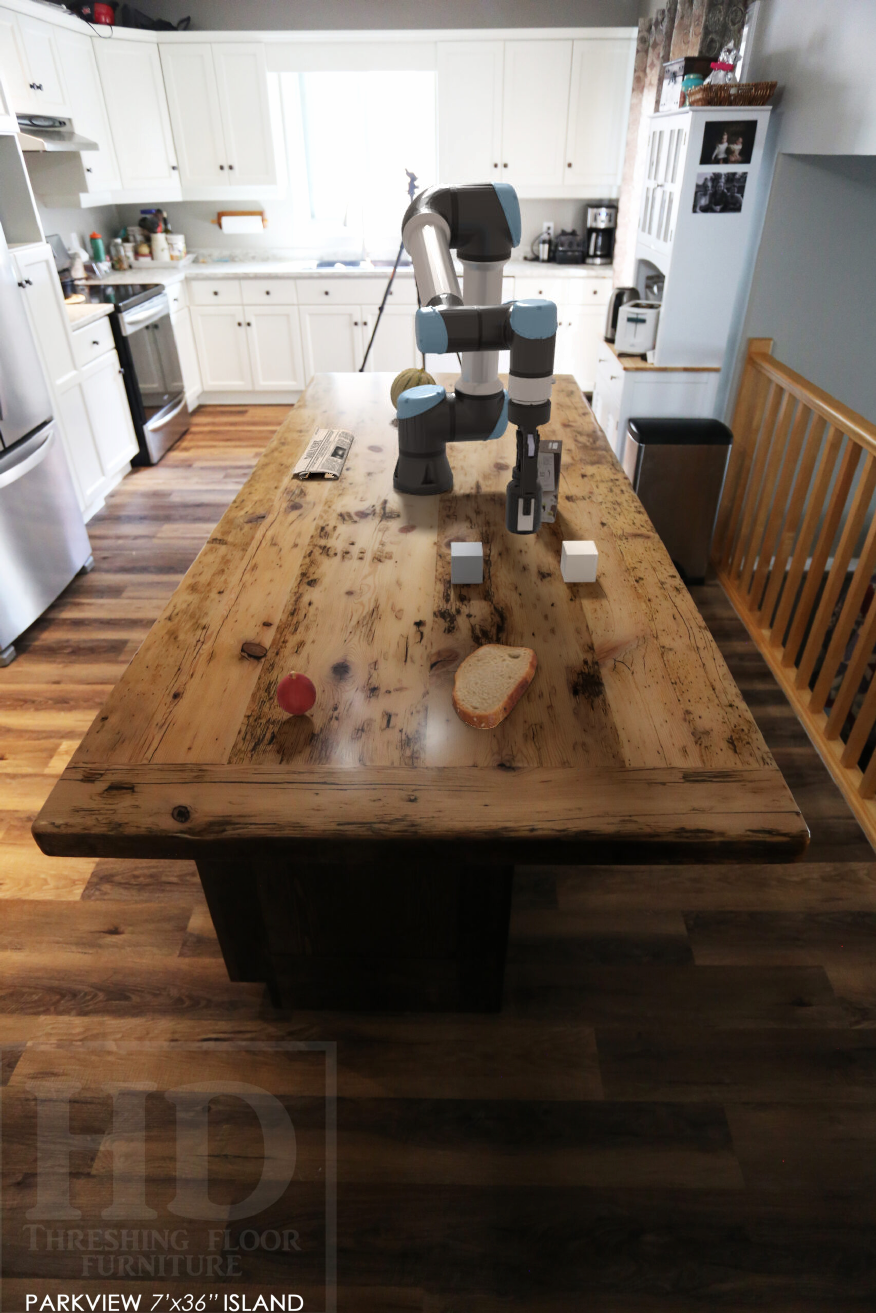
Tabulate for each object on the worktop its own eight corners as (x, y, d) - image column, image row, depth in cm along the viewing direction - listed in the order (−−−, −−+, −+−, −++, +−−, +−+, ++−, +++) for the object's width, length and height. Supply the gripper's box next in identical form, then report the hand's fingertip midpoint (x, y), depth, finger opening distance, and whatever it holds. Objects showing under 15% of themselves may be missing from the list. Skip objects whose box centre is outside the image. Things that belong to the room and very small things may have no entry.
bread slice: (473, 737, 110) (473, 716, 108) (422, 673, 124) (421, 653, 121) (577, 703, 116) (579, 683, 114) (518, 646, 130) (519, 627, 128)
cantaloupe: (384, 414, 242) (382, 365, 234) (426, 408, 247) (425, 359, 239) (402, 426, 231) (400, 375, 223) (446, 420, 236) (445, 370, 228)
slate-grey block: (451, 584, 148) (451, 556, 145) (451, 569, 153) (451, 542, 150) (482, 583, 148) (483, 555, 144) (481, 569, 153) (481, 542, 149)
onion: (281, 703, 117) (274, 660, 112) (319, 701, 117) (314, 658, 112) (278, 727, 112) (270, 683, 107) (317, 725, 112) (311, 681, 108)
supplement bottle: (544, 523, 147) (548, 463, 140) (536, 538, 142) (540, 477, 135) (509, 519, 149) (512, 459, 142) (500, 533, 144) (503, 472, 137)
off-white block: (564, 582, 148) (566, 554, 144) (560, 568, 153) (562, 541, 149) (595, 582, 148) (598, 554, 144) (590, 568, 153) (593, 540, 149)
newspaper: (338, 481, 196) (337, 467, 194) (290, 481, 196) (289, 468, 194) (354, 437, 225) (353, 425, 223) (312, 438, 225) (311, 426, 223)
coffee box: (555, 523, 171) (560, 453, 162) (526, 521, 172) (530, 451, 163) (558, 507, 178) (563, 439, 169) (530, 505, 179) (534, 438, 170)
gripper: (558, 415, 123) (548, 543, 137) (545, 382, 140) (537, 500, 153) (512, 416, 124) (507, 544, 137) (504, 383, 140) (500, 500, 153)
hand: (523, 520), depth 145 cm, fingers closed on supplement bottle, 7 cm apart
